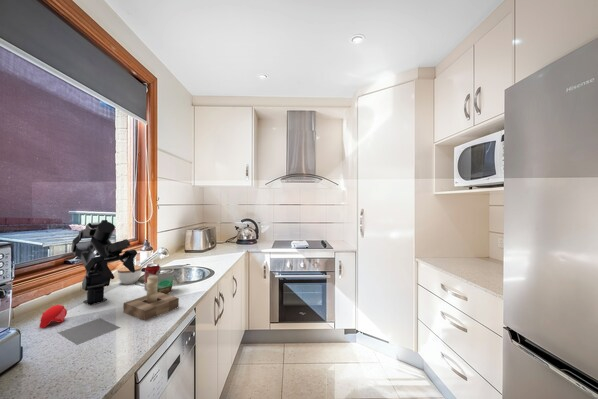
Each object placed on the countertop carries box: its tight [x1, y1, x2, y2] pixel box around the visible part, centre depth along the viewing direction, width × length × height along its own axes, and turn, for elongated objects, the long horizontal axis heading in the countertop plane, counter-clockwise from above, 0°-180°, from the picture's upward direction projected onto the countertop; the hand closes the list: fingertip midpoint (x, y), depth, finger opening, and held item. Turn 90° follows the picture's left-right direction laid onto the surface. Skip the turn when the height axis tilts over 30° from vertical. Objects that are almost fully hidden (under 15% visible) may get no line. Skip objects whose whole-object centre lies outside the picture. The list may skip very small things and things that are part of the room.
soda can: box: [144, 262, 161, 290], centre depth 125 cm, size 7×7×12 cm
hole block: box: [122, 292, 180, 321], centre depth 101 cm, size 14×14×4 cm
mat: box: [57, 317, 121, 346], centre depth 84 cm, size 14×12×1 cm
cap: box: [39, 304, 68, 329], centre depth 88 cm, size 8×6×6 cm
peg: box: [146, 276, 158, 304], centre depth 101 cm, size 4×4×14 cm
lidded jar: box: [117, 265, 143, 285], centre depth 134 cm, size 11×11×9 cm
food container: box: [148, 268, 176, 295], centre depth 119 cm, size 12×6×10 cm, turn 148°
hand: (124, 275), depth 102 cm, fingers open, 9 cm apart
